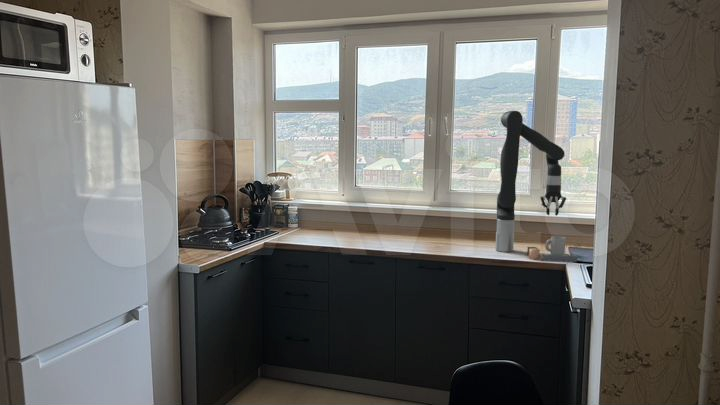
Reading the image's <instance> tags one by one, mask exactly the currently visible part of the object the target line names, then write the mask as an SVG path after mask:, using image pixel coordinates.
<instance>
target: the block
mask: <svg viewBox="0 0 720 405" xmlns="http://www.w3.org/2000/svg"><path fill="white" fill-rule="evenodd" d="M530 248H537V249H539V248H538V247H536V246H527V249H526V250H527V255H528V256H529V249H530Z"/></svg>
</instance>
